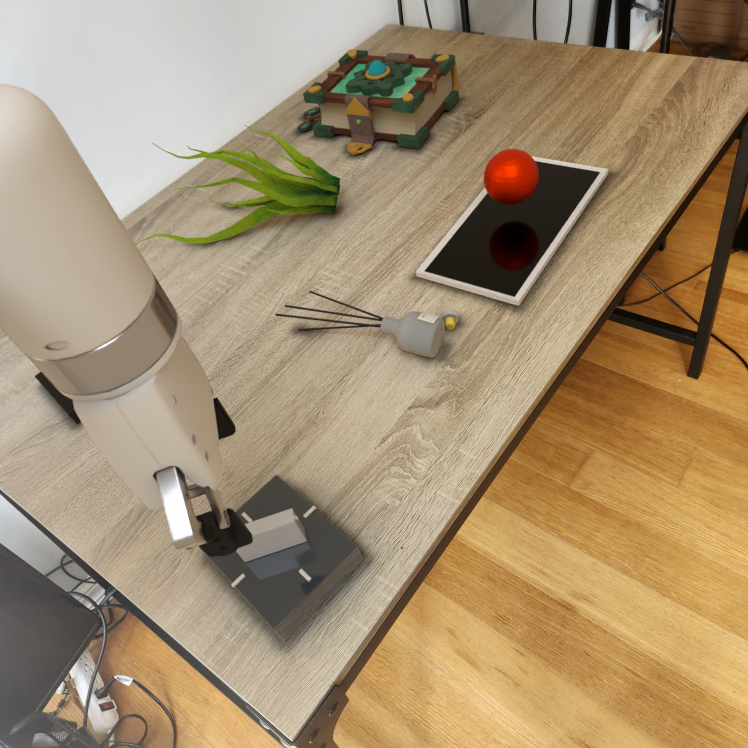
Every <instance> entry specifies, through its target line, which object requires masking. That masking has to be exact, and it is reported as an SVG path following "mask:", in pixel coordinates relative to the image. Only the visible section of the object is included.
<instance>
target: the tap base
mask: <svg viewBox="0 0 748 748" xmlns="http://www.w3.org/2000/svg"><path fill="white" fill-rule="evenodd" d="M291 508H292V509H293V510H294V512H295V514H296V515H297V517H298V519H299V520H300V522H301V524H302V525H303V527H304V529H305V534H306V538H307V542H304V543H301V544H298V545H295V546H292V547H289V548H286V549H283V550H280V551H277V552H274V553H271V554H268V555H265V556H262V557H260V558H257V559H254V560H251V561H248V562H244V560H243V559H242V558H241V557H240V556H239V554H238V553H237V552H234V553H232V554H229V555H226V556H221V557H220V556H214V557H209V556H208V555H207V554H206V553H205V552H204V551H203V550H202V549H201V548H200V547H199V546H197V547H198V548H199V549H200V550H201V551H202V553H203V554H204V555H205V556H206V557H207V558H208V559H209V560H210V562H211V563H212V564H213V565H214V566H215V567H216V568H217V569H218V570H219V572H220V573H221V574H222V575H223V577H225V578H226V579H227V580H228V582H229V583H230V586H231V587H232V588H235V590H236V591H237V592H238V593H239V594H240V596H242V597H243V599H244V600H246V602H247V603H248V604H249V605H250V606H251V607H252V608H253V610H254V611H255V612H256V613H257V614H258V616H260V617H261V618H262V620H263V621H264V622H265V623H266V624H267V625H268V626H269V628H270V629H271V630H273V632H274V633H275V634H276V635H277V636H278V638H279V639H281V641H282V642H286V641H287V640H288V639H289V638H290V637H291V636H292V635H293V634H294V633H295V632H296V631H297V630H298V629H299V627H301V626H302V624H304V623H305V621H306V620H307V619H308V618H309V617H310V616H311V615H312V614H314V612H315V611H316V610H317V609H318V608H319V607H320V606H321V605H322V604H323V602H325V600H327V598H329V596H330V595H332V593H333V592H334V591H335V590H336V589H337V588H338V587H339V586H340V585H341V584H342V583H343V582H344V581H345V580H346V579H347V578H348V577H349V576H350V575H351V573H352V572H354V571H355V569H357V567H358V566H359V565H360V564H361V563H362V562H363V561H364V558H363V555H362V553H361V551H360V549H359V547H358V545H357V544H356V543H355V542H353V541H352V540H351V538H349V536H347V535H345V534H344V533H343V531H341V530H340V529H339V528H338V527H337V526H335V525H334V523H332V522H331V521H330V520H329V519H328V518H327V517H326V516H324V515H323V513H321V512H320V511H319V510H318V509H317V507H316V506H315V505H314V504H313V505H312V504H311V503H309V501H307V500H306V499H305V498H304V497H303V496H302V495H300V493H298V492H297V491H296V490H295V489H294V488H293V487H292V486H290V485H289V484H288V483H287V482H286V481H285V480H284V479H283V478H281V476H279V475H278V474H275V475H274V476H273V477H272V478H270V479H269V480H268V482H266V483H264V485H263V486H261V487H260V488H259V489H258V491H256V492H255V493H254V494H253V495H252V496H250V497H249V498H248V499H247V500H246V501H245V502H244V503H243V504H242V505H241V506H240V507H239V508H238V509H237V510H235V511H234V512H235V513H236V514H237V515H238V517H239V518H240V519H241V521H242V522H243V523H244V524H247V523H250V522H253V521H256V520H259V519H262V518H264V517H267V516H270V515H273V514H276V513H279V512H282V511H285V510H288V509H291Z"/></svg>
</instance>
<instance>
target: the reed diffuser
mask: <svg viewBox="0 0 748 748" xmlns="http://www.w3.org/2000/svg"><path fill="white" fill-rule="evenodd" d="M308 292H309V294H312V295H315V296H318V297H320V298H322V299H325V300H328V301H331V302H334V303H336V304H339V305H342V306H344V307H347V308H350V309H352V310H354V311H356V312H357V311H358V312H361V313H363V314H366V315H368V316H364V315H358V314H357V315H356V314H349V313H343V312H337V311H330V310H322V309H316V308H309V307H302V306H296V305H289V304H285V305H284V308H290V309H297V310H301V311H310V312H316V313H322V314H323V313H324V314H329V315H336V316H344V317H350V318H355V319H361V320H362V319H364V320H369V321H377V322H380V323H375V324H372V323H364V322H354V321H346V320H345V321H343V320H336V319H330V318H329V319H328V318H319V317H311V316H302V315H293V314H283V313H275V316H276V317H284V318H293V319H302V320H310V321H317V322H327V323H334V324H344V325H342V326H340V325H339V326H322V327H308V328H307V327H305V328H298V330H297V331H298V332H305V331H307V332H308V331H321V330H341V329H355V328H359V329H360V328H380V332H382V333H385V334H387V335H388V334H389V335H391V336H394V337H395V340H396V342H397V345H398V346H399V348H400V349H401V350H403V351H404V352H407V353H410V354H414V355H419V356H422V357H426V358H431V359H434V358H435V357H436V356H437V355H438V353H439V351H440V349H441V346H442V343H443V339H444V336H445V328H446V329H447V330H449V331H452V330H454V329H455V328H456V324H457V323H458V322H459V320H460V315H459V312H458V311H457V310H455V309H450V308H449V309H445V310H443V311H442V312H441V313H440V316H438V315H435V314H432V313H427V312H425V311H421V312H420V311H415V310H414V311H413V310H411V311H409V312H407V313H405V314H404V315H403V316H401V318H399V319H398V318H395V317H390V316H387V315H386V316H384V317H383V316H380V315H377V314H374V313H373V312H369V311H366V310H364V309H361V308H358V307H355V306H354V305H353V306H352V305H351V304H348V303H345V302H342V301H339V300H336V299H334V298H331V297H328V296H326V295H323V294H321V293H318V292H315V291H312V290H309V291H308ZM345 324H346V325H345Z"/></svg>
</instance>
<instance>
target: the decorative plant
mask: <svg viewBox="0 0 748 748" xmlns="http://www.w3.org/2000/svg"><path fill="white" fill-rule="evenodd" d="M244 126H245V127H247V128H248V129H250V130H251V131H254V132H258V133H262V134H266V135H268V136H269V137H270V138H271V139H273V140H275V141H276V142H277V144H279V145H280V146H281V147H282V149H283V150H284V151H285V152H286V153H287V155H288V156H289V157H287V156H285V155H281V154H280V155H279V154H271V153H268V155H270V156H272V157H273V156H274V157H280V158H283V159H285V160H286V161H288V162H289V163H291V164H292V165H293V166H294V167H295V168H296V169H297V170H298V171H299V172H300V173H302V174H303V175H305V176H300V175H299V176H298V175H296V174H293V173H290V172H287V171H284V170H283V169H280V168H279V167H278V166H276V165H274V164H273V163H271V162H270V161H268V160H267V159H265V158H262V157H260V156H258V155H257V153H256V152H255V151H254V150H252V149H251V148H248V147H244V146H240V145H235V144H232V146H234V147H238V148H242V149H244V150H247V151H249V152H250V153H251V154H250V153H246V152H243V151H239V150H238V151H237V150H229V149H219V150H215V151H212V152H209V151H205V150H201V149H196V148H190V146H189V145H186V147H187V148H188V149H189V150H190V151H194V152H198V153H197V154H193V155H189V156H187V155H186V156H182V155H181V156H180V155H177V154H175V153H173V152H170V151H167V150H165V149H163V148H162V147H160V146H158V145H157V144H155V143H154V142H151V144H152V145H154V146H155V147H157V148H158V149H160V150H162V151H163V152H165V153H167V154H169V155H172V156H173V157H175V158H177V159H182V160H195V159H202V158H203V159H204V158H205V159H211V160H220V161H222V162H224V163H226V164H229V165H230V166H233V167H235V168H237V169H240V170H242V171H244V172H246V173H247V174H249V175H250V176H251V177H252V178H254V180H250V179H246V178H241V177H236V176H231V177H228V178H224V179H221V180H217V181H214V182H210V183H207V184H202V185H201V184H200V185H195V186H188V187H179V188H176V190H183V189H184V190H186V189H199V188H210V187H211V188H212V187H216V186H222V185H226V184H231V183H232V184H233V183H236V184H240V185H242V186H243V187H244V186H245V187H247V188H249V189H252V190H255V191H257V192H259V193H262V194H263V196H260V197H256V198H250V199H246V200H240V201H236V202H235V203H234V204H233V205H232V204H231V205H229V204H226V203H221V202H218V201H215V200H213V199H210V201H212V202H214V203H217V204H219V205H223V206H225V207H229V208H237V207H243V208H254V207H258V208H255V209H254V210H253V211H251V212H250V213H249V214H247V215H245V216H244V217H242V218H240V220H238V221H236V222H235V223H234V224H232V225H230V226H229V227H226V228H224V229H222V230H220V231H217V232H215V233H213V234H211V235H209V236H206V237H184V236H179V235H174V234H169V233H156V234H155V233H154V234H152V235H150V236H148V237H146V238H143V239H142V240H140V241H138V242H137V243H135V245H136V246H138V244H140V243H142V242H144V241H147V240H149V239H152V238H155V237H156V238H157V237H161V238H169V239H171V240H175V241H178V242H180V243H181V242H182V243H185V244H189V243H190V244H209V243H213V242H218V241H221V240H224V239H228V238H232V237H235V236H237V235H239V234H241V233H242V232H245V231H246V230H248V229H251V228H253V227H254V226H257V225H258V224H261V223H262V222H265V221H267V220H269V219H272V218H274V217H276V216H278V215H292V214H293V215H310V214H316V213H333V214H334V213H335V212H336V211H337V204H338V197H339V196H340V191H341V184H340V183H341V177H338V176H336V175H333V174H331V173H330V172H328V171H327V170H326V169H324V167H322V166H320V165H319V164H317V162H315V161H314V160H313V159H312V158H311V157H309V156H307V155H304V154H302V153H301V152H299V150H297V149H296V148H294V147H293V145H291V144H289V142H287V141H285V139H283V138H280V137H279V136H278V135H275V134H274V133H272V132H270V131H267V130H261V129H254V128H251V127H250V126H248V125H246V124H244ZM255 180H256V181H255Z"/></svg>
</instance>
